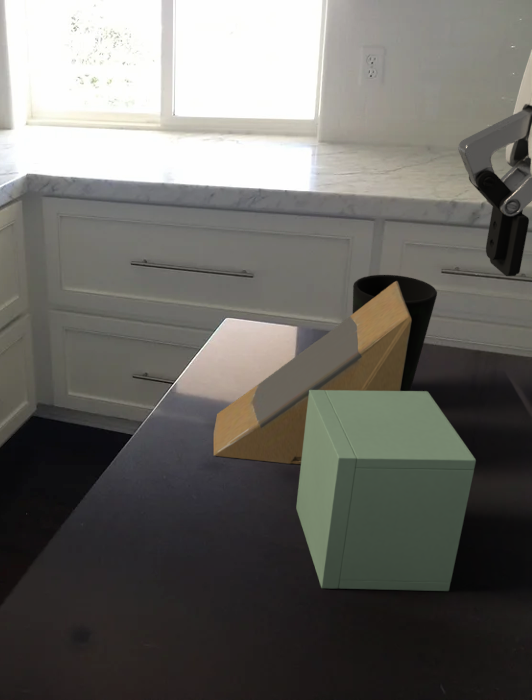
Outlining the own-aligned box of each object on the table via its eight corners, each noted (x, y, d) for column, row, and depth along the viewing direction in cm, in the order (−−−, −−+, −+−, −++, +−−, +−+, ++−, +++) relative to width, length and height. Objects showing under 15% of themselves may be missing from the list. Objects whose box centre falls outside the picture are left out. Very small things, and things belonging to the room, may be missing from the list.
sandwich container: (215, 412, 87) (224, 270, 80) (376, 425, 84) (398, 279, 78) (211, 456, 79) (220, 303, 73) (387, 472, 76) (412, 314, 70)
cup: (425, 417, 85) (445, 303, 80) (345, 412, 86) (359, 300, 81) (409, 382, 92) (427, 275, 87) (335, 378, 93) (348, 273, 88)
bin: (407, 510, 71) (428, 390, 66) (449, 591, 62) (476, 459, 57) (295, 508, 72) (309, 389, 67) (321, 588, 62) (338, 457, 58)
